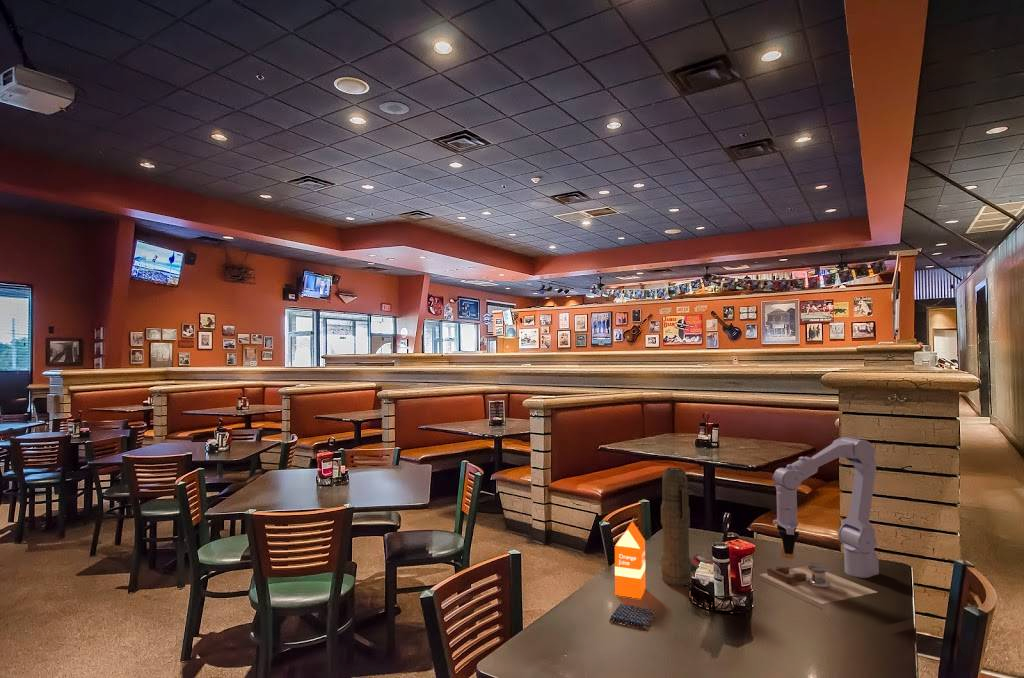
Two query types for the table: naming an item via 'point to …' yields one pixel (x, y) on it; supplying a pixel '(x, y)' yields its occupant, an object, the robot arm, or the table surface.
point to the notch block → (781, 575)
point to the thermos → (675, 528)
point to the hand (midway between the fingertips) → (787, 551)
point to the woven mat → (633, 616)
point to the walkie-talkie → (697, 561)
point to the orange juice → (630, 564)
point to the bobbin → (818, 575)
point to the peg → (786, 554)
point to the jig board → (835, 592)
